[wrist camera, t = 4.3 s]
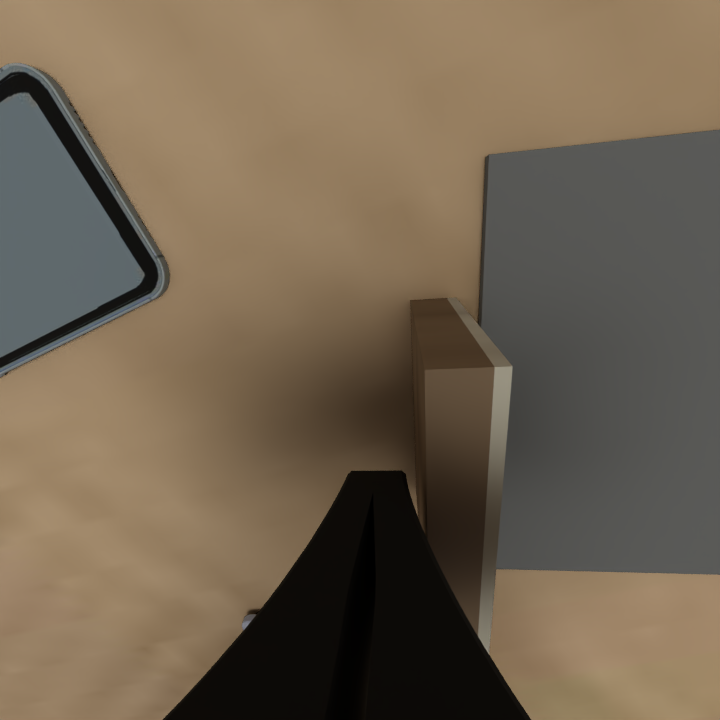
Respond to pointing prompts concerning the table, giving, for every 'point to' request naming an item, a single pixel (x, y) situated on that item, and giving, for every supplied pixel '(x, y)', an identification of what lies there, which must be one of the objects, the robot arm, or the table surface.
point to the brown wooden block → (460, 448)
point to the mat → (608, 352)
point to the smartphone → (62, 226)
